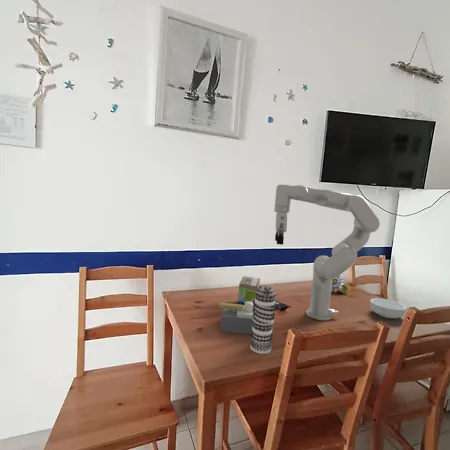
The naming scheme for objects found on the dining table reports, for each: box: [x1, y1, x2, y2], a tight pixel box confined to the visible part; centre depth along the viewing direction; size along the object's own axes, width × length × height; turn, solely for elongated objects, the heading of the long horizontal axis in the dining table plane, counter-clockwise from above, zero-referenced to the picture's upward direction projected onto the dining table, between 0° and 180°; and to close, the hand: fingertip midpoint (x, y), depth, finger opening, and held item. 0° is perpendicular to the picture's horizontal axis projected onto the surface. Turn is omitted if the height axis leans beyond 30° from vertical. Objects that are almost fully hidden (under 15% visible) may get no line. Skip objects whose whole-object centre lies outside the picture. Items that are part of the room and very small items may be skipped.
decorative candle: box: [249, 285, 277, 355], centre depth 119 cm, size 9×9×25 cm
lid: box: [237, 301, 255, 319], centre depth 136 cm, size 10×10×5 cm
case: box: [220, 308, 253, 336], centre depth 136 cm, size 17×12×7 cm
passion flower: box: [331, 274, 350, 296], centre depth 197 cm, size 13×12×14 cm
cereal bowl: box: [369, 297, 407, 319], centre depth 162 cm, size 17×17×7 cm
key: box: [218, 302, 243, 313], centre depth 136 cm, size 11×2×3 cm, turn 85°
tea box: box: [236, 275, 261, 306], centre depth 161 cm, size 15×10×15 cm
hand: (278, 242), depth 154 cm, fingers open, 9 cm apart
